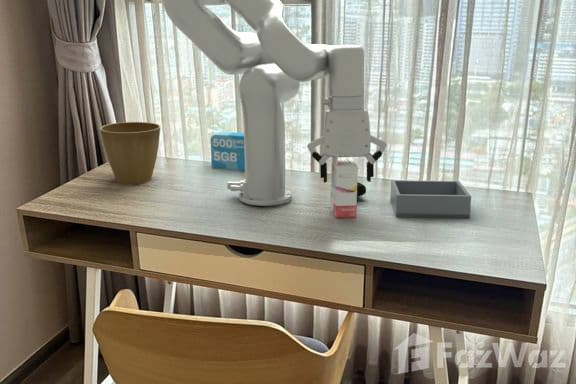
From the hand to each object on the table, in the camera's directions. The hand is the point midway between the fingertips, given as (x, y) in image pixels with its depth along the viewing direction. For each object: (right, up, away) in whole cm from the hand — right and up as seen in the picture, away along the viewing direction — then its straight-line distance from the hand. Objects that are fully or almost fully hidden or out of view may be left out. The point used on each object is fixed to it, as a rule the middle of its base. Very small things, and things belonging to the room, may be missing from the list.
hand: (346, 180), depth 135 cm
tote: (+19, -6, +4) cm, 21 cm away
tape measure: (+5, -4, +12) cm, 14 cm away
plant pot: (-53, -1, +24) cm, 58 cm away
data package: (-28, +2, +34) cm, 44 cm away
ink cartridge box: (-1, -7, +2) cm, 8 cm away
